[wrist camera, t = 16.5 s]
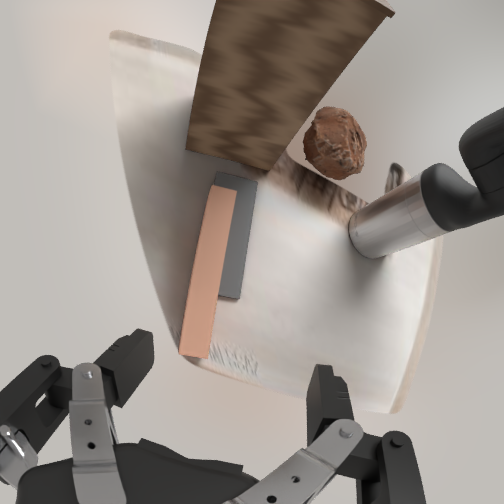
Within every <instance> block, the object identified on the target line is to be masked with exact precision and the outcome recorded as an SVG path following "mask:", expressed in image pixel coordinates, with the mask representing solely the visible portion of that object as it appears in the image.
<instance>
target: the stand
mask: <svg viewBox="0 0 504 504" xmlns="http://www.w3.org/2000/svg"><path fill="white" fill-rule="evenodd" d="M394 14H395V11H394V10H393V9H392V7H391V6H390V4H389V3H388V2H387V0H216V3H215V6H214V10H213V14H212V17H211V21H210V25H209V29H208V33H207V37H206V41H205V46H204V50H203V54H202V59H201V64H200V68H199V73H198V78H197V83H196V88H195V94H194V99H193V105H192V111H191V117H190V123H189V129H188V136H187V142H186V150H190V151H194V152H199V153H203V154H207V155H211V156H215V157H219V158H223V159H227V160H231V161H235V162H239V163H243V164H246V165H250V166H253V167H257V168H261V169H264V170H267V171H270V170H271V168H272V167H273V165H274V164H275V163H276V161H277V160H278V158H279V157H280V156H281V154H282V153H283V151H284V150H285V149H286V147H287V146H288V144H289V143H290V142H291V140H292V139H293V137H294V136H295V134H296V133H297V132H298V131H299V129H300V128H301V126H302V125H303V124H304V122H305V121H306V119H307V118H308V117H309V116H310V114H311V113H312V111H313V110H314V109H315V107H316V106H317V105H318V103H319V102H320V101H321V99H322V98H323V97H324V95H325V94H326V93H327V91H328V90H329V89H330V87H331V86H332V85H333V83H334V82H335V81H336V79H337V78H338V77H339V76H340V74H341V73H342V72H343V70H344V69H345V68H346V67H347V65H348V64H349V63H350V61H351V60H352V59H353V58H354V56H355V55H356V54H357V53H358V51H359V50H360V49H361V47H362V46H363V45H364V44H365V42H366V41H367V40H368V38H369V37H370V36H371V35H372V34H373V32H374V31H375V30H376V29H377V27H378V26H379V25H380V24H381V23H382V21H383V20H384V19H385V18H386V17H387V16H388V17H390V18H392V16H393V15H394Z"/></svg>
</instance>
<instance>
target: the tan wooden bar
mask: <svg viewBox="0 0 504 504" xmlns="http://www.w3.org/2000/svg"><path fill="white" fill-rule="evenodd" d="M236 193H237V191H235V190H231V189H227V188H223V187H219V186H215V185H212V186H211V189H210V192H209V195H208V199H207V203H206V207H205V212H204V216H203V221H202V225H201V230H200V234H199V239H198V244H197V248H196V253H195V258H194V263H193V268H192V273H191V279H190V284H189V289H188V295H187V300H186V306H185V312H184V317H183V323H182V329H181V336H180V342H179V349H178V352H179V354H181V355H186V356H192V357H198V358H204V359H208V354H209V348H210V342H211V335H212V329H213V323H214V316H215V310H216V304H217V298H218V292H219V286H220V281H221V275H222V269H223V263H224V258H225V252H226V247H227V241H228V236H229V230H230V225H231V220H232V214H233V209H234V204H235V199H236Z"/></svg>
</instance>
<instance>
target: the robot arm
mask: <svg viewBox="0 0 504 504" xmlns="http://www.w3.org/2000/svg"><path fill="white" fill-rule="evenodd" d="M459 151H460V154H461V156H462V159H463V161H464V163H465V165H466V167H467V168H468V169H469V172H470V174H471V176H472V177H473V180H474V182H475V184H476V186H477V187H475V186H473V185H471V184H470V183H468V182H467V181H465V180H464V179H463V178H462V177H461V176H460V175H459V174H458V173H457V172H455V171H454V170H453V169H452V168H451V167H449V166H447V165H445V164H442V163H438V164H434V165H432V166H430V167H429V168H428V169H426V170H424V171H422V172H421V173H419V174H418V175H416V176H414V177H413V178H411V179H410V180H408V181H406V182H405V183H403V184H401V185H400V186H398V187H396V188H395V189H393V190H392V191H390V192H388V193H387V194H385V195H383V196H382V197H380V198H378V199H377V200H375V201H373V202H372V203H370V204H368V205H366V206H365V207H363V208H361V209H360V210H358V211H356V212H355V213H354V214H353V215H352V217H351V219H350V223H349V233H350V238H351V240H352V243H353V245H354V246H355V248H356V249H357V250H358V252H359V253H361V254H362V255H363V256H365V257H367V258H371V259H375V258H378V257H381V256H384V255H388V254H391V253H394V252H397V251H400V250H403V249H405V248H408V247H411V246H414V245H417V244H420V243H422V242H425V241H427V240H430V239H433V238H436V237H438V236H441V235H443V234H446V233H449V232H451V231H454V230H457V229H460V228H465V227H469V226H472V225H474V224H477V223H480V222H483V221H486V220H489V219H492V218H495V217H499V216H502V215H504V107H503V108H501V109H499V110H497V111H496V112H494V113H492V114H490V115H488V116H486V117H484V118H483V119H481V120H479V121H478V122H477V123H475V124H473V125H472V126H471V127H470V128H468V129H467V130H466V131H465V133H464V134H463V135H462V137H461V139H460V141H459ZM153 363H154V345H153V334H152V332H149V331H145V330H142V329H136V330H135V331H134V332H133V333H132V334H131V335H130V336H128V335H126V336H124V337H121V338H119V339H118V340H117V341H116V342H114V343H113V345H111V346H110V347H109V348H108V350H106V351H105V352H104V353H103V354H102V355H101V356H100V357H99V358H98V359H97V360H96V361H95V362H94V363H81V364H79V365H77V366H76V367H75V368H74V369H71V368H66V367H61V366H60V363H59V360H58V359H57V358H56V357H54V356H51V355H44V356H41V357H39V358H37V359H36V360H35V361H34V362H33V363H32V364H30V365H29V366H28V367H27V368H26V369H25V370H24V371H22V372H21V373H20V374H19V375H18V376H17V377H16V378H15V379H14V380H12V381H11V382H10V383H9V384H8V385H7V386H6V387H5V388H4V389H3V390H2V391H1V392H0V481H1V482H3V483H4V484H7V485H11V486H12V487H14V488H15V489H16V490H17V499H16V504H310V503H311V501H312V500H313V499H314V498H315V497H316V496H317V495H318V494H319V493H320V492H321V491H322V490H323V489H324V488H325V487H326V486H327V485H328V484H329V483H330V482H331V481H332V479H333V478H334V477H335V476H336V475H337V474H338V475H343V476H347V477H350V478H354V479H356V489H357V504H426V500H425V495H424V490H423V485H422V481H421V476H420V473H419V468H418V464H417V460H416V456H415V453H414V449H413V445H412V442H411V439H410V438H409V437H408V436H407V435H406V434H405V433H403V432H400V431H390V432H387V433H386V434H385V435H384V436H383V437H378V436H374V435H370V434H366V433H365V432H363V429H362V427H361V426H360V425H359V424H358V423H357V422H355V421H354V416H353V411H352V406H351V402H350V399H349V398H350V397H349V393H348V388H347V384H346V383H345V381H344V380H343V379H342V378H341V377H338V376H334V373H333V368H332V366H330V365H320V364H316V366H315V368H314V371H313V375H312V378H311V381H310V384H309V387H308V391H307V398H306V402H307V448H306V449H300V450H299V451H297V452H296V453H295V454H294V455H293V456H291V457H290V458H289V459H288V460H287V461H286V462H284V463H283V464H282V465H280V466H279V467H278V468H277V469H275V470H274V471H273V472H272V473H270V474H269V475H268V476H266V477H265V478H264V479H262V480H261V481H259V480H257V479H256V478H254V477H253V476H250V475H249V474H246V473H244V472H242V469H243V465H238V464H233V463H228V462H223V461H218V460H199V459H188V458H186V457H184V456H182V455H180V454H178V453H176V452H174V451H173V450H171V449H169V448H167V447H166V446H163V445H160V444H157V443H154V442H151V441H149V440H146V439H143V438H141V440H140V441H139V443H138V444H136V443H121V444H119V442H118V439H117V435H116V430H115V426H114V422H113V416H112V411H111V408H112V406H113V405H116V406H118V407H120V408H122V407H123V406H124V404H125V403H126V402H127V400H128V399H129V398H130V396H131V395H132V394H133V392H134V391H135V390H136V388H137V387H138V385H139V384H140V383H141V381H142V380H143V379H144V377H145V376H146V375H147V373H148V372H149V371H150V369H151V368H152V366H153ZM44 393H45V395H46V397H45V398H44V399H43V400H42V401H41V402H40V403H39V405H38V406H37V407H36V408H35V406H36V402H37V400H38V399H39V398H40V397H41V396H42V395H43V394H44ZM68 413H69V416H70V417H69V418H70V432H71V445H72V454H73V458H69V459H65V460H61V461H57V462H53V463H49V464H45V465H40V466H37V463H38V456H37V454H38V452H39V451H40V450H41V448H42V447H43V446H44V445H45V443H46V442H47V441H48V439H49V438H50V437H51V435H52V434H53V433H54V432H55V430H56V429H57V428H58V426H59V425H60V424H61V422H62V421H63V420H64V419H65V417H66V416H67V415H68Z"/></svg>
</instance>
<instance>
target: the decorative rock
mask: <svg viewBox="0 0 504 504" xmlns="http://www.w3.org/2000/svg"><path fill="white" fill-rule="evenodd" d="M311 123H312V126H311V127H310V128H309V129H308V130H307V132H306V133H305V136H304V140H303V144H304V153H305V155H306V159H305V160H308V161H309V162H310V163H311V164H312V165H313V166H314V167H315V168H316V169H317V170H318V171H319V172H321V173H322V174H323V175H325V176H326V177H329V178H333V179H336V180H342V179H345V178H346V177H348V176H349V175H352V174H358V173H360V172H361V170H362V167H363V166H364V151H365V148H366V146H367V142H366V138H365V135H364V133H363V131H362V130H361V128H360V126H359V124H358V123H357V121H356V120H355V119H354V118H353V116H352V115H351V114H350V113H349V112H348V111H346V110H344V109H340V108H335V107H323V108H322V109H320V110H319V111H317V113H316V116H315V119H314V120H313V121H312V122H311Z"/></svg>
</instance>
